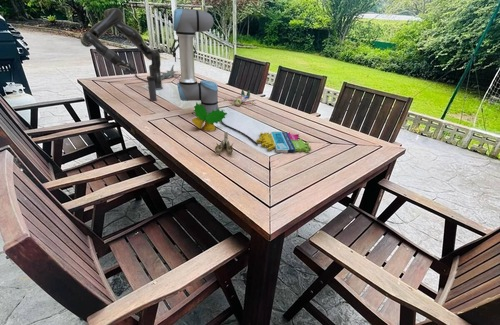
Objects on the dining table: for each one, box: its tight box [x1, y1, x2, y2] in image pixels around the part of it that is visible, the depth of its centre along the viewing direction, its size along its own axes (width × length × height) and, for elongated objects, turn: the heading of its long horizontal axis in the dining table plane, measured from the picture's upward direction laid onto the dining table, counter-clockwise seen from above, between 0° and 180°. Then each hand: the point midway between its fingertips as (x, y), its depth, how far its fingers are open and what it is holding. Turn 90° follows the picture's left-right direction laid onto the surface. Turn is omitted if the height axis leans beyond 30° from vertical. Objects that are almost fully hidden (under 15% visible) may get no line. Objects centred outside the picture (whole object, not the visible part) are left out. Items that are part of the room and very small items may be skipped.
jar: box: [147, 80, 158, 102], centre depth 204 cm, size 5×5×18 cm
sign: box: [255, 131, 312, 154], centre depth 152 cm, size 26×2×30 cm
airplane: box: [160, 64, 181, 81], centre depth 280 cm, size 38×31×10 cm
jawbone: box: [214, 131, 234, 156], centre depth 136 cm, size 9×15×10 cm
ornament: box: [191, 101, 228, 132], centre depth 162 cm, size 21×8×15 cm, turn 105°
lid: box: [146, 75, 155, 81], centre depth 200 cm, size 6×6×2 cm
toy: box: [223, 89, 257, 106], centre depth 219 cm, size 28×7×30 cm
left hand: (133, 72), depth 194 cm, fingers open, 8 cm apart
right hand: (184, 61), depth 211 cm, fingers open, 13 cm apart
